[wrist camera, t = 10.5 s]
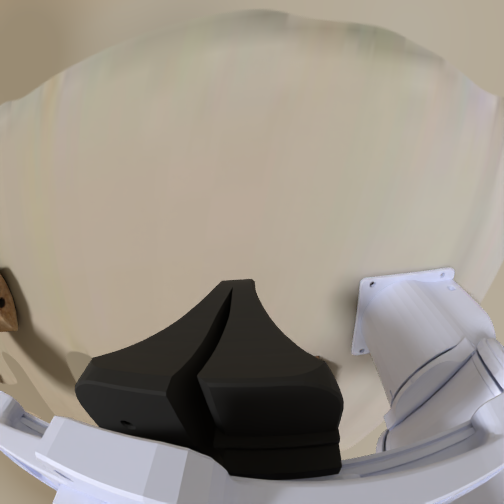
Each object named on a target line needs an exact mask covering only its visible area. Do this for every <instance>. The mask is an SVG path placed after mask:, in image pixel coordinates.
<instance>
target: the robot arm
mask: <svg viewBox="0 0 504 504" xmlns="http://www.w3.org/2000/svg"><path fill="white" fill-rule="evenodd" d="M442 273H443V274H442ZM441 274H442V275H441ZM454 274H455V271H454V269H453V268H451V267H449V268H442V269H434V270H427V271H419V272H411V273H403V274H394V275H385V276H376V277H367V278H364V279H362V280H361V281H360V286H359V296H358V305H357V313H356V321H355V328H354V335H353V341H352V348H351V352H352V354H353V355H362V354H368V353H370V354H371V357H372V359H373V362H374V364H375V367H376V369H377V372H378V374H379V377H380V380H381V382H382V385H383V388H384V390H385V393H386V396H387V399H388V401H389V404H390V407H391V409H390V410H389V411H388V412H387V413H386V414H385V415H384V419H385V422H386V426H387V429H386V430H385V431H384V432H383V433H382V434H381V435H380V437H379V439H378V442H377V447H376V453H375V454H371V455H367V456H362V457H358V458H352V459H348V460H341V456H340V449H339V442H340V436H339V430H338V427H339V423H340V420H341V416H342V412H343V404H344V401H343V397H342V394H341V391H340V389H339V386H338V384H337V382H336V380H335V378H334V376H333V374H332V372H331V370H330V369H329V367H328V365H327V364H326V363H325V362H324V361H322V360H320V359H318V358H316V357H314V356H313V355H311V354H309V353H307V352H305V351H304V350H303V349H301V348H300V347H298V346H297V345H296V344H295V343H294V342H293V341H291V340H290V339H289V338H288V337H287V336H286V335H285V334H284V333H283V332H282V331H281V330H280V329H279V328H278V327H277V326H276V325H275V323H274V322H273V321H272V320H271V318H270V317H269V315H268V314H267V312H266V311H265V309H264V308H263V306H262V304H261V302H260V300H259V298H258V296H257V293H256V290H255V281H253V280H252V279H244V280H228V281H221V282H220V283H219V284H218V285H217V286H216V287H215V288H214V289H213V290H212V291H211V292H210V293H209V294H208V295H207V296H206V297H205V298H204V299H203V300H202V301H201V302H200V303H199V304H197V305H196V306H195V307H194V308H193V309H191V310H190V311H189V312H188V313H187V314H186V315H184V316H183V317H182V318H180V319H179V320H178V321H176V322H175V323H173V324H172V325H170V326H169V327H167V328H165V329H164V330H162V331H160V332H158V333H157V334H155V335H153V336H151V337H149V338H147V339H145V340H143V341H141V342H139V343H136V344H134V345H132V346H129V347H127V348H124V349H121V350H118V351H115V352H112V353H108V354H105V355H102V356H98V357H94V358H92V360H91V361H90V363H89V364H88V366H87V367H86V369H85V371H84V372H83V374H82V375H81V377H80V378H79V380H78V382H77V383H76V385H75V393H76V396H77V399H78V400H79V402H80V404H81V405H82V407H83V408H84V409H85V410H86V412H87V413H88V414H89V415H90V417H91V418H92V419H93V420H94V421H95V422H96V424H97V425H98V426H99V427H97V426H93V425H90V424H87V423H84V422H81V421H78V420H75V419H73V418H69V417H64V416H54V417H53V419H52V421H51V423H50V424H49V423H47V422H45V421H43V420H41V419H39V418H37V417H35V416H33V415H31V414H29V413H27V412H25V410H24V409H23V407H22V406H21V405H20V404H19V403H18V402H17V401H16V400H15V399H14V398H13V397H12V396H10V395H8V394H6V393H5V392H3V391H0V450H1V451H2V452H3V453H4V454H5V455H6V456H7V457H9V458H10V459H11V460H12V461H13V462H15V463H16V464H17V465H19V466H20V467H21V468H23V469H24V470H26V471H27V472H29V473H30V474H32V475H33V476H34V477H36V478H37V479H39V480H40V481H42V482H43V483H45V484H47V485H48V486H50V487H51V488H53V489H55V490H56V491H57V493H56V496H55V498H54V501H53V503H52V504H504V346H503V345H502V344H500V342H498V341H497V340H496V336H495V331H494V327H493V323H492V321H491V319H490V317H489V315H488V314H487V313H486V312H485V310H484V309H482V307H481V306H480V305H479V304H478V303H477V302H476V301H475V300H474V299H473V298H472V297H471V296H470V295H469V294H468V293H467V292H466V291H465V290H464V289H463V288H462V287H461V286H460V285H458V284H457V283H456V282H455V281H454V280H453V278H454ZM371 282H374V284H373V285H370V283H371ZM361 349H363V350H361Z"/></svg>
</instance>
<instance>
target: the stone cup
mask: <svg viewBox="0 0 504 504" xmlns="http://www.w3.org/2000/svg"><path fill="white" fill-rule="evenodd" d="M17 330H18V322H17V316H16V311H15V306H14V302H13V298H12V295H11V293H10V290H9V288H8V287H7V284H6V282H5V281H4V279H3V277H2V276H1V274H0V332H7V331H17Z"/></svg>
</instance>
